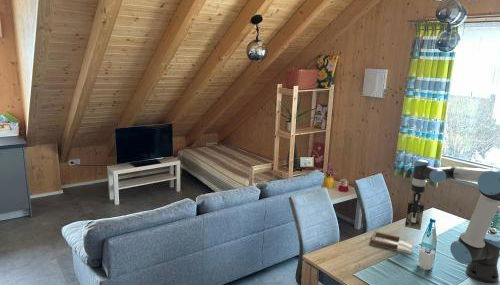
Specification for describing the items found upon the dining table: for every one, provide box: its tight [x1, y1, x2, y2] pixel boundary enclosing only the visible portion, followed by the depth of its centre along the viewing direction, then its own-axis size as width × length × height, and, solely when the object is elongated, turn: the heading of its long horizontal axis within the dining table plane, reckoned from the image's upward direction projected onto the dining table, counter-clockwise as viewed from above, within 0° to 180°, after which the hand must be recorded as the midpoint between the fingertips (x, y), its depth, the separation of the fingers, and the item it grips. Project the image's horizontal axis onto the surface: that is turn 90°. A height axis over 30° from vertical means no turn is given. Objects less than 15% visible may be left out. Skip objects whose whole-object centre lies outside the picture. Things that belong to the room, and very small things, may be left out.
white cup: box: [418, 246, 436, 271], centre depth 207 cm, size 8×8×10 cm
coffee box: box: [404, 199, 425, 231], centre depth 229 cm, size 9×6×16 cm
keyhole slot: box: [370, 230, 413, 255], centre depth 233 cm, size 16×24×3 cm
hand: (413, 219), depth 229 cm, fingers closed on coffee box, 7 cm apart
